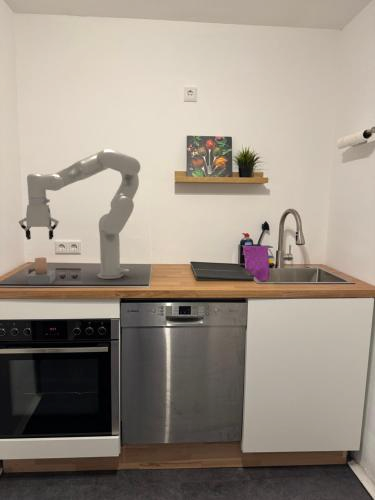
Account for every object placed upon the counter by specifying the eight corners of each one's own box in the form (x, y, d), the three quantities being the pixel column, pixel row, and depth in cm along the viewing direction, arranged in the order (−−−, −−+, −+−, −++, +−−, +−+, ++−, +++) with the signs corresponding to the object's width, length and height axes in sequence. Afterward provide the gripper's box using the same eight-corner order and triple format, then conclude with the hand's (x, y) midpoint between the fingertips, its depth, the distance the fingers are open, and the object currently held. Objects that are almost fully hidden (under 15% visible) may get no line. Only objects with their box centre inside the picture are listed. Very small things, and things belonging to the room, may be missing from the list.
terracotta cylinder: (48, 271, 167) (47, 257, 166) (45, 274, 162) (44, 259, 161) (37, 272, 166) (36, 257, 165) (34, 274, 161) (33, 259, 160)
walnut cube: (37, 275, 177) (37, 267, 177) (37, 277, 174) (37, 269, 173) (28, 275, 176) (28, 268, 175) (28, 277, 172) (28, 269, 171)
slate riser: (55, 278, 170) (54, 270, 170) (50, 284, 161) (49, 275, 160) (33, 279, 169) (33, 271, 168) (27, 284, 159) (26, 275, 159)
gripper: (59, 201, 164) (61, 238, 167) (20, 201, 161) (22, 238, 164) (55, 202, 156) (57, 240, 159) (14, 202, 154) (17, 240, 157)
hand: (39, 239), depth 162 cm, fingers open, 9 cm apart
